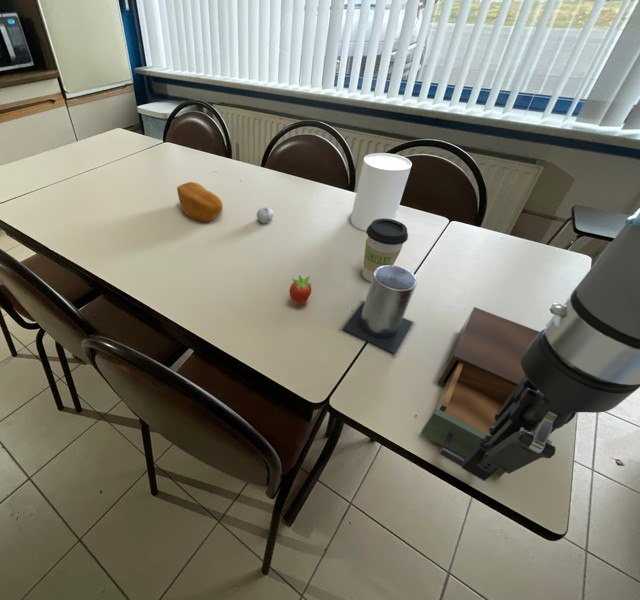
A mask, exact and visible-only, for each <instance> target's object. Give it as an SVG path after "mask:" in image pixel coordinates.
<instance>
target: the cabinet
mask: <svg viewBox="0 0 640 600" xmlns="http://www.w3.org/2000/svg"><path fill="white" fill-rule="evenodd" d="M539 332H540V331H539V330H537V329H533V328H531V327H528V326H526V325H523V324H521V323H518V322H515V321H512V320H510V319H507V318H504V317H502V316H500V315H496V314H494V313H491V312H489V311H487V310H483V309H481V308H478V307H475V306H474V307H473V308H472V309H471V311H470V313H469V314H468V317H467V318H466V320H465V322H464V323H463V325H462V327H461V329H460V330H459V332H458V334H457V336H456V339H455V341H454V344H453V346H452V347H451V350H450V353H449V354H448V357H447V360H446V362H445V364H444V366H443V369H442V372H441V373H440V375H439V377H438V380H437V382H436V383H437V384H438V385H440V386H442V387H443V388H444V387H445V385H446V382H447V380H448V377H449V376H450V374H451V372H452V371H453V369H454V368H455V366H456V364H457V363H458V361H460V362H462V363H464V364H466V365H469V366H471V367H473V368H475V369H478V370H480V371H482V372H484V373H487V374H489V375H491V376H493V377H495V378H498V379H500V380H502V381H504V382H507V383H509V384H511V385H513V386H517V385H518V384H519V382H520V381H521V379H522V378H523V377H524V375H525V373H524V371H523V369H522V365H521V357H522V354H523V352H524V351H525V350H526V349H527V347H528V346H529V345H530V344H531V342H532V341H533V340H534V339H535V337H536V336H537V335H538V334H539Z"/></svg>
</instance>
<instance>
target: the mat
mask: <svg viewBox="0 0 640 600" xmlns="http://www.w3.org/2000/svg"><path fill="white" fill-rule="evenodd" d="M365 301H366V300H365ZM365 301H362V303H361V304H360V305H359V307H358V308H357V310H355V312H353V314H352V316H351V317H350V318H349V320H348V321H347V323H346V324H345V325H344V326H343V328H342V331H343V332H345V333H346V334H349V335H351V336H353V337H355V338H357V339H360V340H361V341H364V342H366V343H368V344H370V345H372V346H374V347H377V348H378V349H381V350H383V351H385V352H386V353H389V354H391V355H395V354H396V352H397V350H398V348H399V347H400V345H401V343H402V342H403V340H404V338H405V337H406V335H407V333H408V331H409V329H410V328H411V326H412V324H413V321H412V320H409V319H407V318H405V317H403V319H402V321H401V324H400V326H399V329H398V331H397V333H396V334H395V335H394V336H393V337H391V338H386V339H381V338H376V337H373V336H371V335H369V334H367V333H366V332H365V331H364V330H363V329H362V328H361V326H360V323H359V321H360V317H361V314H362V311H363V307H364V304H365Z"/></svg>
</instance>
